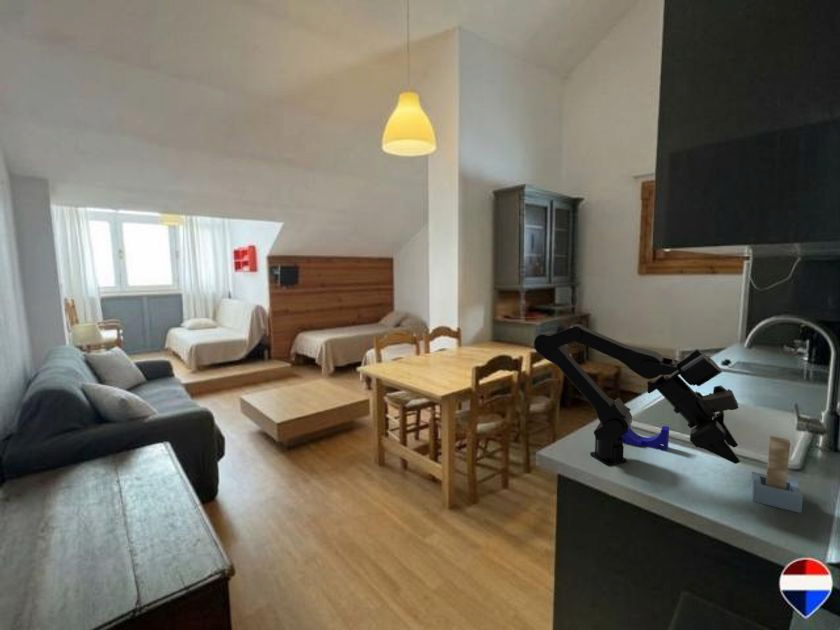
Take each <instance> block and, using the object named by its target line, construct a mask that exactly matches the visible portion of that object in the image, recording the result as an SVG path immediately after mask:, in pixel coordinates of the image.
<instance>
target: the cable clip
mask: <svg viewBox="0 0 840 630" xmlns="http://www.w3.org/2000/svg"><path fill="white" fill-rule="evenodd" d="M621 438H622V439H623V444H626V445H629V444H630V445H631V446H633V445H634V446H635V447H637V446H638V447H637V448H642V447H643V446H644V447H647V448H652V449H655V450H659V449H660V450H661V451H663V452H664V451H665V452H667V450H668V449H669V441H670V439H669V438H670V427H669V426H666V425H663V426H662V428H661V429H660V432H659V433H658V434H657V435H655V436H651V437H647V436H646V437H645V436H642V435H639V434H637V433H636V432H635V431H633V429H632V428H631V426H630V427H629V429H628V431H627V433H626V434H625V435H623V436H621ZM630 445H629V446H630ZM660 450H659V451H660Z"/></svg>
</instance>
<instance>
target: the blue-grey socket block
mask: <svg viewBox="0 0 840 630" xmlns="http://www.w3.org/2000/svg"><path fill="white" fill-rule="evenodd" d="M750 473H751V476H750V486H749V487H750V492H751V498H752V500H751V501H752V502H755V503H759V504H763V505H767V506H771V507H775V508H779V509H783V510H787V511H790V512H793V513H799V514H802V510H803V509H802V508H803V501H804V496H803V493H802V491H801V488H800V485H799V483H798V481H795V480H791V479H787V481H786V490H783V489H779V488H775V487H771V486H766V477H767V474H763V473H760V472H754V471H751V472H750Z"/></svg>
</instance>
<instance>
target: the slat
mask: <svg viewBox="0 0 840 630" xmlns="http://www.w3.org/2000/svg"><path fill="white" fill-rule="evenodd" d="M790 450H791V441H790V439H789V438H784V437H779V436H773V435H770V436H769V445H768V458H767V467H766V475H767V477H766V486H771V487H775V488H779V489H783V490H786V481H787V480H788V470H789V462H790V461H789V459H790V452H791V451H790Z"/></svg>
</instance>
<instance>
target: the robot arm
mask: <svg viewBox="0 0 840 630" xmlns="http://www.w3.org/2000/svg"><path fill="white" fill-rule="evenodd" d="M573 342H577V343H580V344H582V345H583V346H586V347H587V348H591V349H593V350H595V351H598V352H599V353H602V354H603V355H606V356H608V357H610V358H613V359H615V360H617V361H619V362H621V363H622V364H623V365H625V366H626V367H627V368H628V369H629V370H631V371H632V372H634V373H635V374H637V375H638V376H640V377H641V378H643V379H647V391H646V392H647V394H652V393H653V392H655V391H658V392H659V393H660V394H661V395H662V396H663V398H664V399H665V400H666V401H667V402H668V403H669V404H670V405H671V406H672V407H673V411H674V412H675V414H679V415H680V416H681V417H682V418H683V419H684V420H686V422H687V426H688V427H689V428H690V435H689V441H690V442H691V444H692V445H693V446H694V447H695V448H696V449H702V450H705V451H708V452H710V453H712V454H714V455H716V456H718V457H720V458H722V459H724V460H726V461H729V462H731V463H732V464H735V465H736V464H739V463H741V460H740V458H739V457H738V456H737V454H736V453H735V452H734V450H733V449H732V448H736V447H738V446H739V445H738V443H737V441H736V439H735V438H734V436H733V435H732V433H731V432H730V430H729V428H728V426H727V425H726V424H725V422H724V421H725V420H724V419H725V411H734V410H737V409H739V403H738V400H737V399H736V397H735V394H734V392H733V391H732V390H731V389H730V388H729V389H728V388H727V389H726V388H725V387H724V386H723V385H715V386H713V391H712V393H711V392H710V393H709V394H706V395H703V394H702V393H701V392H700V391H697V390H696V391H694V390H693V388H691V387H690V386H693V387H695V386H697V387H701V386H702V385H704V384H705V383H707V382H709V381H710V380H712V379H713V378H715V377H717V376H718V375H720V374H721V373H723V370H722V369H721V368H720V366H719V365H718V364H717V363H716V362H715V361H714V360H713V359H712V358H711V357H708V355H706V354H705V353H704V352H702V351H701V350H700V349H699V348H695V349H694V350H693V351H691V352H690V353H689V354H688V355H687V356H685V357H683V358H682V359H681V360H678V359H673V358H668V357H664V356H663V355H662V354H661V353H660V352H657V351H656V350H655V351H654V350H650V349H646V348H642V347H637V346H631V345H627V344H625V343H624V342H623V343H622V342H621V341H618V340H616V339H613V338H611V337H609V336H606V335H604V334H602V333H599V332H597V331H595V330H592V329H590V328H587V327H585V326H584V325H583V324H580V323H579V324H577V323H576V324H575V325H572V326H571V327H568V328H565V329H562V330H559V331H553V330H552V331H551V330H549V331H545V332H544V333H541V334H539V335H537V336H536V337H535V338H534V341H533V347H534V350H535V351H536V353H537V354H539V355H540V356H541V357H543V358H544V359H545V360H547V361H548V362H551V363H552V364H554V365H555V366H556V367H558V369H559V370H560V371H561V373H563V374H564V376H565V377H567V379H568V380H569V381H570V382H571V383H572V385H574V387H575V388H576V389H577V391H579V393H581V395H582V396H583V397H584V399H586V400H587V402H588V403H589V404H590V405H591V406H592V407H593V409H594V411H595V414H596V416H597V419H598V421H599V423H598V425H597V427H595V429H594V431H593V435H594V438H595V440H594V442H595V443H594V451H592V452H589V455H590V456H592V457H593V458H595V459H596V460H597V461H600V462H602V463H603V464H605V465H606V466H611V465H615V464H620V463H621V464H622V463H625V462H627V461H628V459H627V458H626V457H624V448H625V447H624V443H623V439H622V438H621V436H623V435H625V434H626V433H627V431H628V429H629V427H630V428H631V425H632V422H633V415H632V413H631V412H630V411H631V408H630V407H628V406H627V405H625V403H624V402H623V400H622V399H621V398H620V397H617V398H616V399H613V398H611V397H609V396H608V395H607V394H606V393H605V392H604V391H603V390H602V389H601V387H599V386H598V384H597V383H596V382H595V380H593V379H592V378H591V377H590V375H588V373H587V372H586V371H585V370H584V369H583V368H582V366H581V365H580V364H579V363H578V362H577V361H576V360H575V358H573V357H572V356H571V354H570V352H569V350H568V347H567V344H570V343H573ZM653 379H654V380H653ZM731 447H732V448H731Z"/></svg>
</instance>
